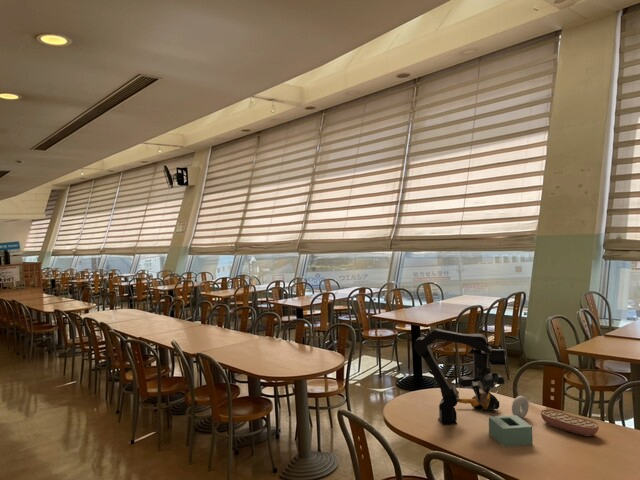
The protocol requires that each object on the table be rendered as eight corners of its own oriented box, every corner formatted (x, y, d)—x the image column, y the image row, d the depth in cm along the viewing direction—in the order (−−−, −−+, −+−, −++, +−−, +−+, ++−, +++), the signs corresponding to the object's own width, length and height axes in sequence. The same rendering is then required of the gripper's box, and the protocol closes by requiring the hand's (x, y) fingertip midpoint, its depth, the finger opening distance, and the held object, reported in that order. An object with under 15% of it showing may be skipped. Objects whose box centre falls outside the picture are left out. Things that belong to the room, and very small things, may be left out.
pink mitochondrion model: (603, 436, 189) (602, 423, 189) (591, 442, 183) (590, 430, 183) (548, 418, 208) (547, 407, 208) (535, 424, 202) (535, 413, 202)
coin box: (503, 446, 181) (502, 428, 181) (489, 433, 193) (488, 416, 193) (532, 444, 183) (532, 426, 183) (516, 431, 195) (516, 415, 194)
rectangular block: (481, 405, 199) (481, 393, 199) (476, 401, 204) (476, 389, 204) (487, 404, 199) (486, 393, 199) (481, 400, 204) (481, 389, 204)
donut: (517, 422, 204) (516, 399, 204) (510, 419, 207) (509, 397, 207) (530, 416, 210) (530, 394, 210) (523, 414, 213) (523, 392, 213)
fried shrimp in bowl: (503, 405, 213) (464, 392, 215) (494, 422, 217) (456, 409, 219) (501, 391, 221) (463, 379, 223) (492, 408, 226) (455, 395, 228)
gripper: (467, 370, 192) (469, 408, 192) (510, 367, 194) (512, 405, 194) (456, 363, 203) (458, 399, 203) (497, 360, 205) (498, 396, 206)
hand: (481, 400), depth 201 cm, fingers closed on rectangular block, 2 cm apart
